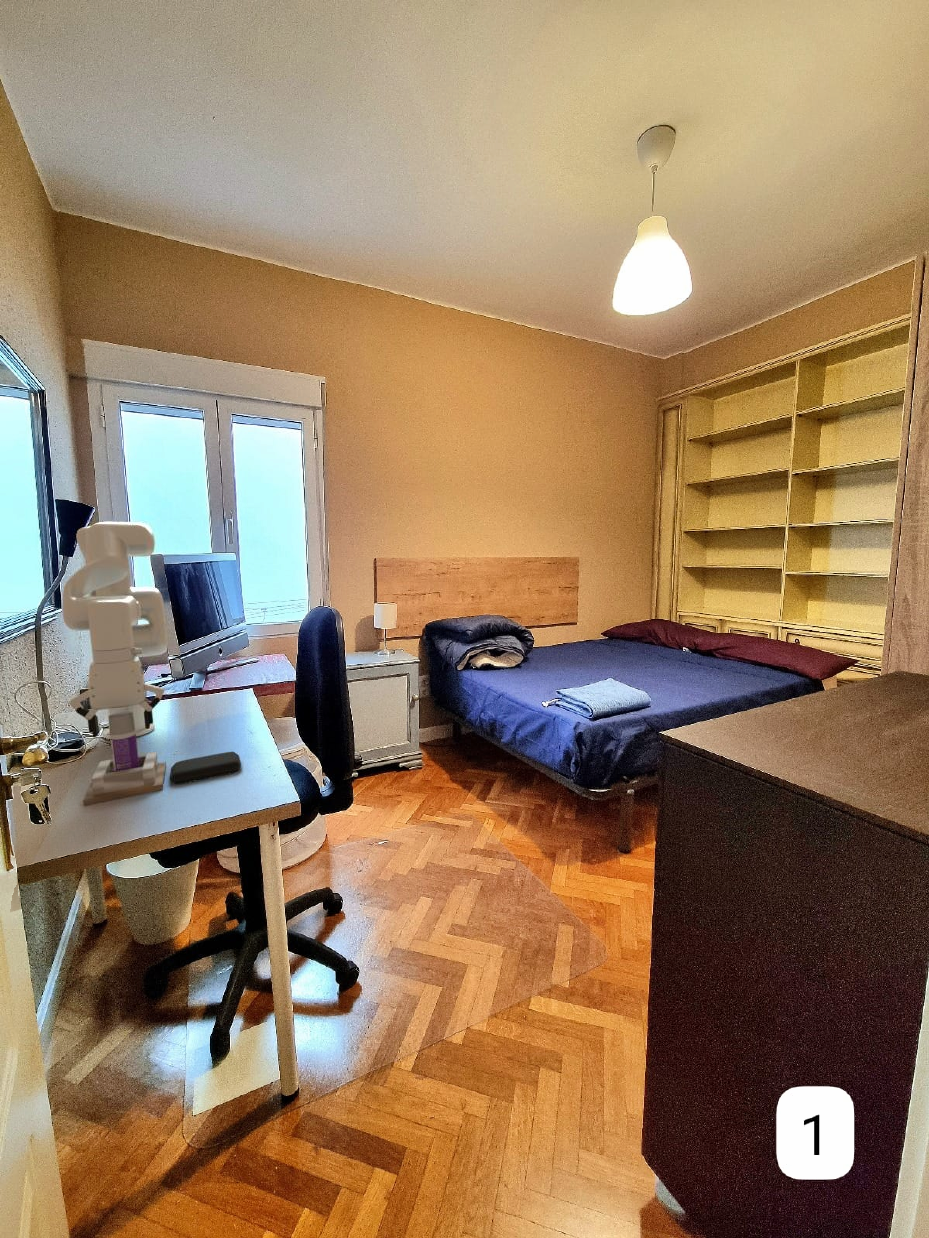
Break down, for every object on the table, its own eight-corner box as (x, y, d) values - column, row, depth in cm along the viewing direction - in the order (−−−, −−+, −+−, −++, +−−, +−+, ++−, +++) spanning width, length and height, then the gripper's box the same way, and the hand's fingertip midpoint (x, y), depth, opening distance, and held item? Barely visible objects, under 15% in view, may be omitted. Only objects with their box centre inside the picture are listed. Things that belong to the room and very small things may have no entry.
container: (145, 775, 114) (138, 711, 113) (126, 784, 110) (119, 718, 108) (129, 773, 116) (122, 710, 114) (110, 782, 111) (102, 717, 109)
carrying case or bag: (238, 758, 127) (171, 771, 120) (237, 746, 127) (170, 759, 120) (242, 773, 118) (170, 788, 111) (241, 761, 118) (168, 775, 111)
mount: (95, 779, 116) (93, 760, 115) (166, 766, 122) (164, 748, 122) (83, 805, 103) (81, 783, 103) (162, 789, 110) (160, 768, 109)
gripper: (161, 648, 117) (168, 719, 119) (68, 657, 109) (78, 732, 111) (159, 654, 110) (166, 729, 112) (60, 663, 102) (70, 744, 104)
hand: (122, 731), depth 112 cm, fingers open, 9 cm apart
